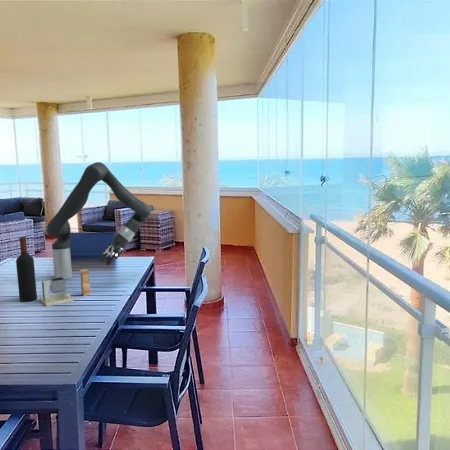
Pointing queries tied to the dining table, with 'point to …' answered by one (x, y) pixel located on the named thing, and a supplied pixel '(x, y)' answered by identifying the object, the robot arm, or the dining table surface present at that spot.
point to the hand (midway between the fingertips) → (103, 262)
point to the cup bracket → (55, 287)
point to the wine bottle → (26, 274)
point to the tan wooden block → (85, 282)
